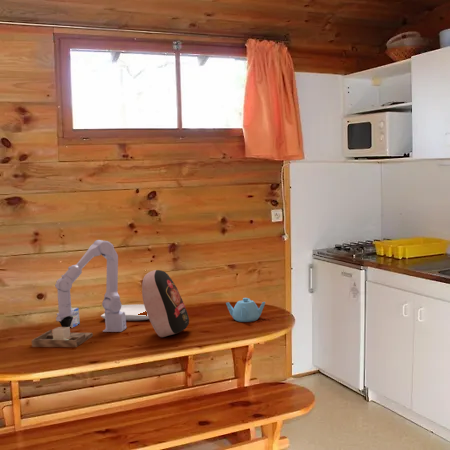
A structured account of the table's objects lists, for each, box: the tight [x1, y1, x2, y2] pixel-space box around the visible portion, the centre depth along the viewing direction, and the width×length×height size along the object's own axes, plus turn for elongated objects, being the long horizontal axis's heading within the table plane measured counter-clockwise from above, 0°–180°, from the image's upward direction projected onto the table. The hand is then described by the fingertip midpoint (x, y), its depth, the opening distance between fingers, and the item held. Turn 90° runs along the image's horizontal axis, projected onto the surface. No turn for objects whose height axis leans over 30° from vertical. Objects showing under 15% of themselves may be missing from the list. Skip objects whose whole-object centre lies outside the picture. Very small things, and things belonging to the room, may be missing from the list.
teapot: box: [225, 297, 266, 323], centre depth 291 cm, size 15×15×11 cm
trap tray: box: [31, 329, 94, 348], centre depth 265 cm, size 21×18×3 cm
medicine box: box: [70, 307, 80, 329], centre depth 294 cm, size 8×4×9 cm, turn 168°
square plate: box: [100, 304, 149, 321], centre depth 311 cm, size 27×27×4 cm
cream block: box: [52, 326, 71, 340], centre depth 264 cm, size 6×6×4 cm
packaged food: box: [141, 269, 190, 338], centre depth 268 cm, size 22×20×30 cm
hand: (66, 333), depth 269 cm, fingers closed
